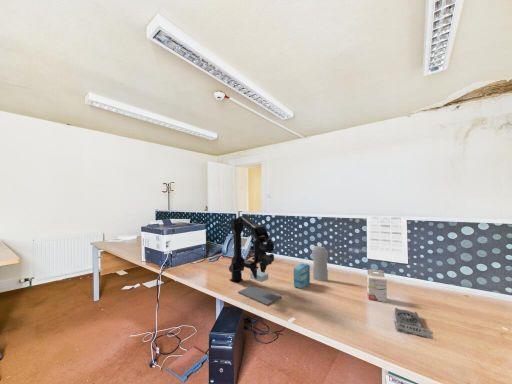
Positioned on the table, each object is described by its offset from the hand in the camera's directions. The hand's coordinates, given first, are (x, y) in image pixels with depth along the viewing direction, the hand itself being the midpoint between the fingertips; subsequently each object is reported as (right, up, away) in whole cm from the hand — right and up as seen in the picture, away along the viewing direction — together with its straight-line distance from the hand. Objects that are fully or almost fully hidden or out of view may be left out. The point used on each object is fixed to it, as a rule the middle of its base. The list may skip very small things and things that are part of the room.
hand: (259, 277), depth 122 cm
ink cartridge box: (+62, -10, -6) cm, 64 cm away
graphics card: (+64, -10, -29) cm, 71 cm away
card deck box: (0, -1, 0) cm, 1 cm away
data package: (+27, -11, +13) cm, 32 cm away
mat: (0, -10, 0) cm, 10 cm away
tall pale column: (+41, -11, +22) cm, 47 cm away
